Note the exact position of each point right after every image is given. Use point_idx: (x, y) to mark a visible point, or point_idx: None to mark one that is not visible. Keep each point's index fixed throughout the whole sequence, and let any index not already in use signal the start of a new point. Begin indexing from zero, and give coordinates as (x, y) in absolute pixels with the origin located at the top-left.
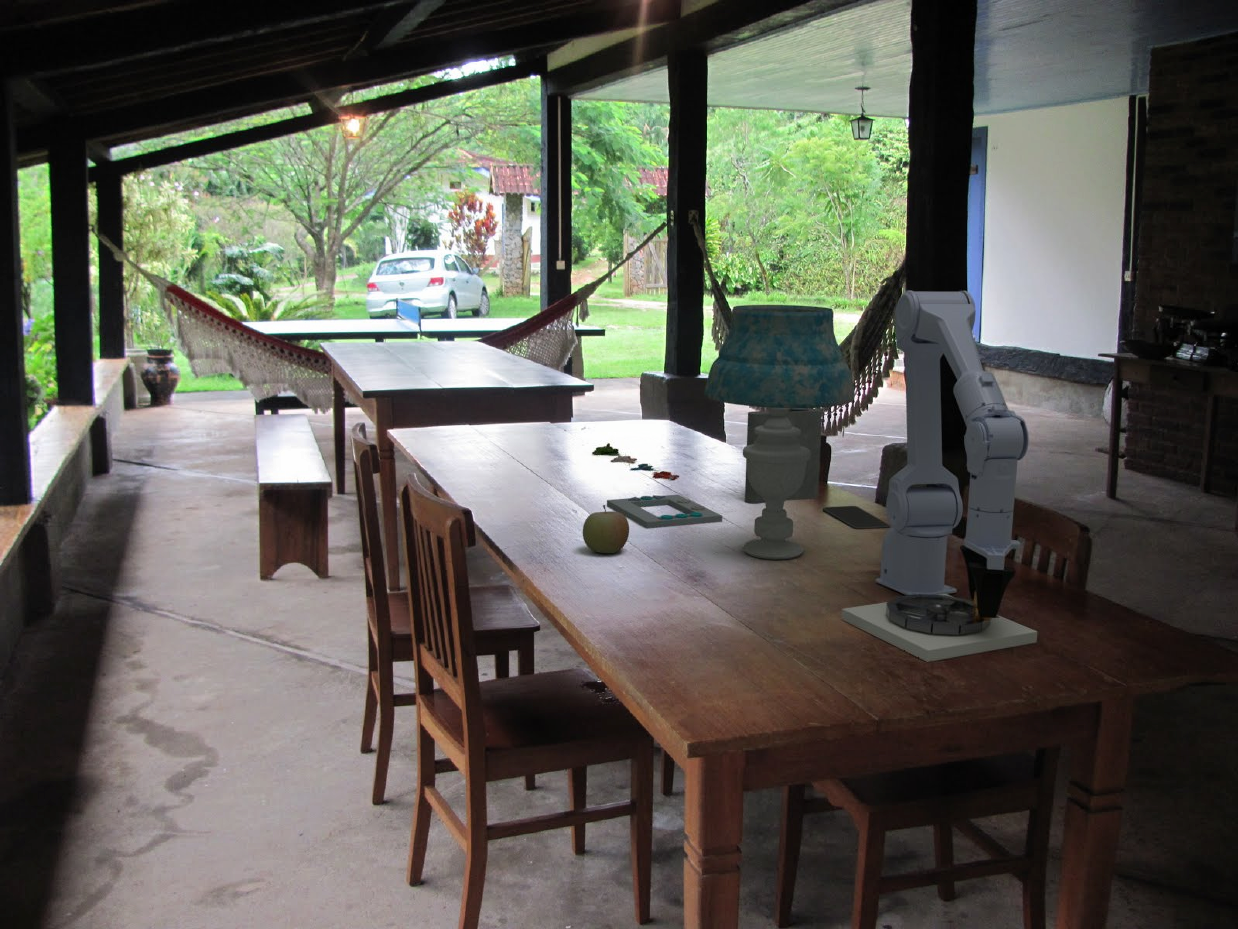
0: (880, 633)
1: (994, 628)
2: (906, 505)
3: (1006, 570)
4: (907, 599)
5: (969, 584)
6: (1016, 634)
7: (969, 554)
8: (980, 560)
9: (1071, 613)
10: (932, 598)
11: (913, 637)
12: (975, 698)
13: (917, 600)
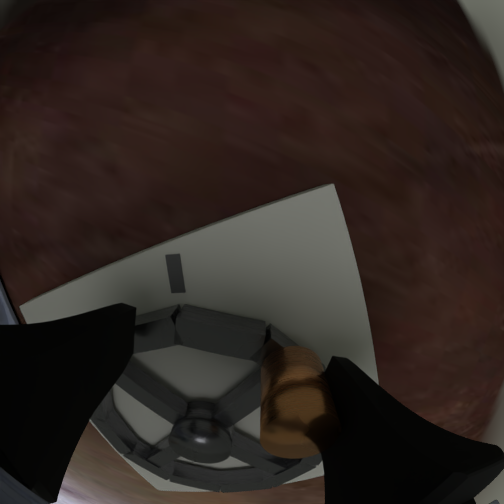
0: None
1: (287, 313)
2: None
3: (478, 490)
4: (127, 445)
5: (108, 389)
6: (352, 268)
7: (51, 479)
8: (47, 432)
9: (102, 20)
10: (102, 401)
11: (316, 467)
12: (492, 393)
13: (114, 423)
